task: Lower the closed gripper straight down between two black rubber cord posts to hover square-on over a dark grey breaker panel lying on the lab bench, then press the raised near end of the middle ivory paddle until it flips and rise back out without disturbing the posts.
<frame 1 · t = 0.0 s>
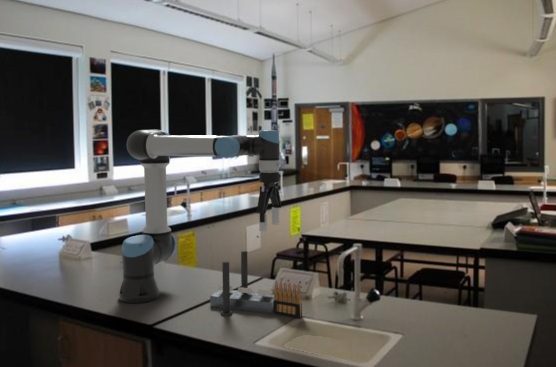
hand: (269, 227, 204), 28 cm above the counter, fingers open, 13 cm apart
breaker panel: (245, 306, 200), on the counter
ammunition clip: (287, 316, 190), on the counter
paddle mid: (244, 290, 199), point 6 cm above the counter, hinge at -18.0°
paddle right: (265, 292, 196), point 6 cm above the counter, hinge at -18.0°
cord post near: (226, 314, 191), on the counter
cord post far: (244, 299, 207), on the counter
paddle left: (225, 288, 202), point 6 cm above the counter, hinge at -18.0°
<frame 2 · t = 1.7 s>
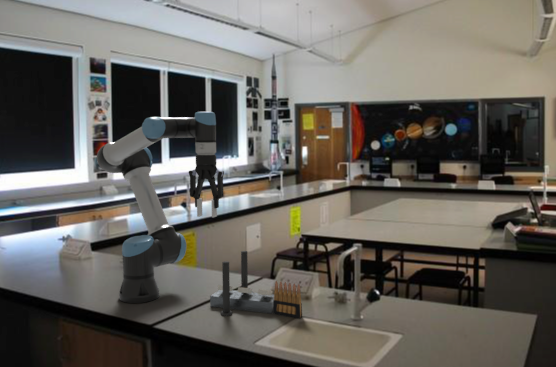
hand: (207, 216, 201), 33 cm above the counter, fingers open, 5 cm apart
nothing on the counter moved.
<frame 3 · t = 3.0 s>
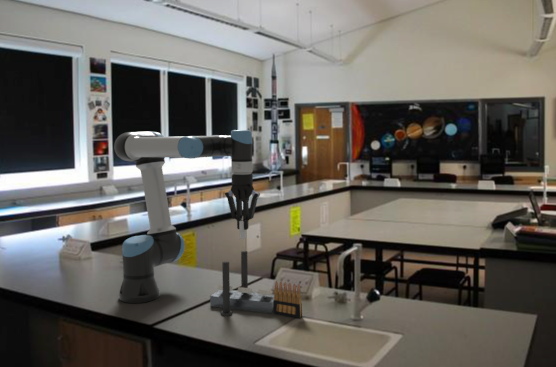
hand: (242, 238, 195), 26 cm above the counter, fingers closed
nothing on the counter moved.
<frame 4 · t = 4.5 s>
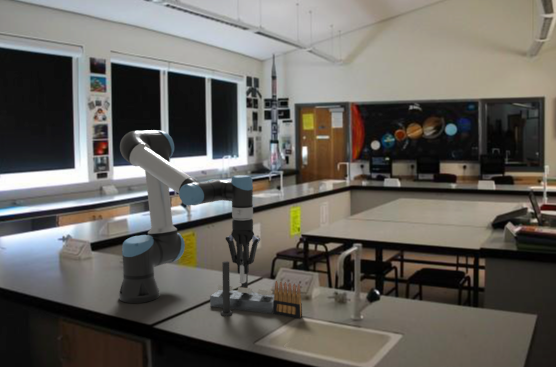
hand: (243, 282, 197), 10 cm above the counter, fingers closed
nothing on the counter moved.
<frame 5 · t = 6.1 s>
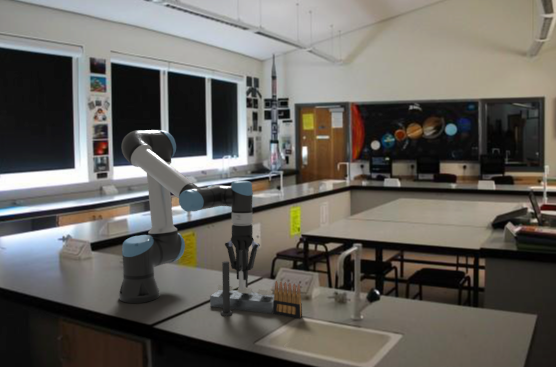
hand: (242, 288, 196), 8 cm above the counter, fingers closed
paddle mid: (244, 290, 199), point 6 cm above the counter, hinge at -15.2°, touching gripper
everything else where it was.
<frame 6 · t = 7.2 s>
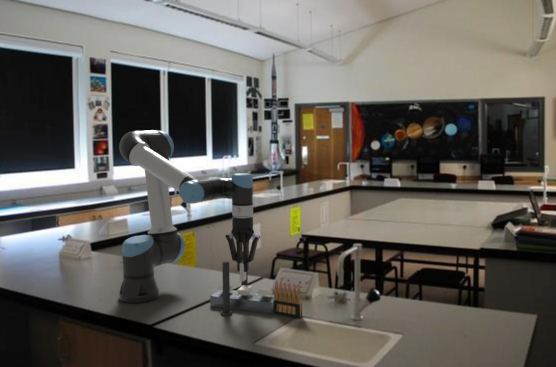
hand: (243, 280, 197), 10 cm above the counter, fingers closed
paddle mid: (244, 290, 199), point 6 cm above the counter, hinge at 5.0°
everything else where it was.
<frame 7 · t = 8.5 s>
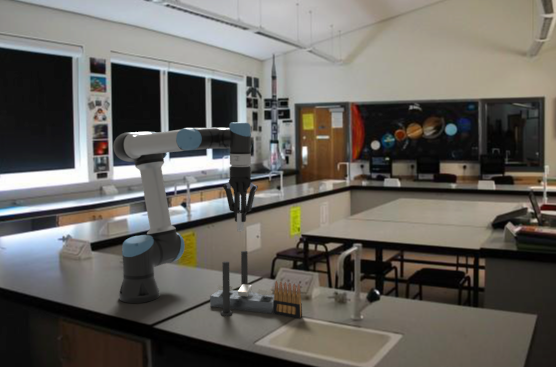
hand: (240, 230, 196), 29 cm above the counter, fingers closed
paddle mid: (244, 290, 199), point 6 cm above the counter, hinge at 16.0°
everything else where it was.
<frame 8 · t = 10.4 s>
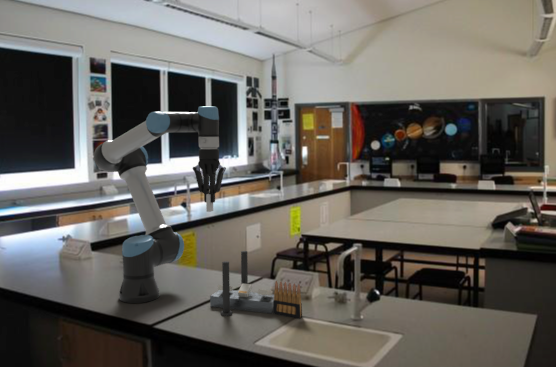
hand: (209, 211, 203), 34 cm above the counter, fingers closed
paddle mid: (244, 290, 199), point 6 cm above the counter, hinge at 25.4°
everything else where it was.
at the end: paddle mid at +26° (first picture: -18°); cord post near moved 0.0 cm from its start; cord post far moved 0.0 cm from its start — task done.
